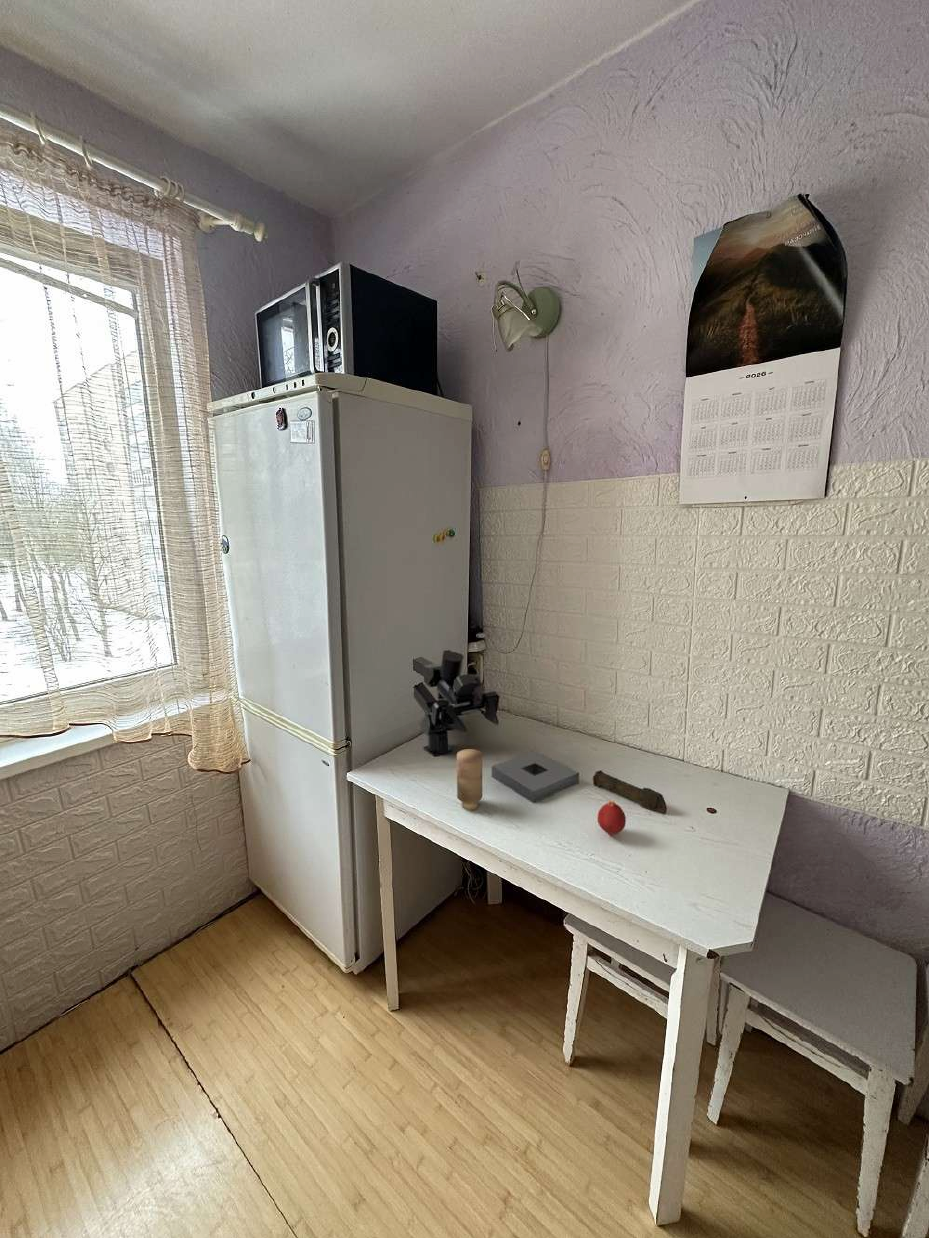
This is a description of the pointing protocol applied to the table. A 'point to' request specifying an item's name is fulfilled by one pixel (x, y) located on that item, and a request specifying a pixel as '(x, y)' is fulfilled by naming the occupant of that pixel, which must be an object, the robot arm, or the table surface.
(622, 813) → the red pomegranate
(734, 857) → the table surface
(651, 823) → the table surface
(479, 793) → the walnut pin
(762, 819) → the table surface
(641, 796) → the hand tool
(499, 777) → the socket block
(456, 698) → the robot arm
